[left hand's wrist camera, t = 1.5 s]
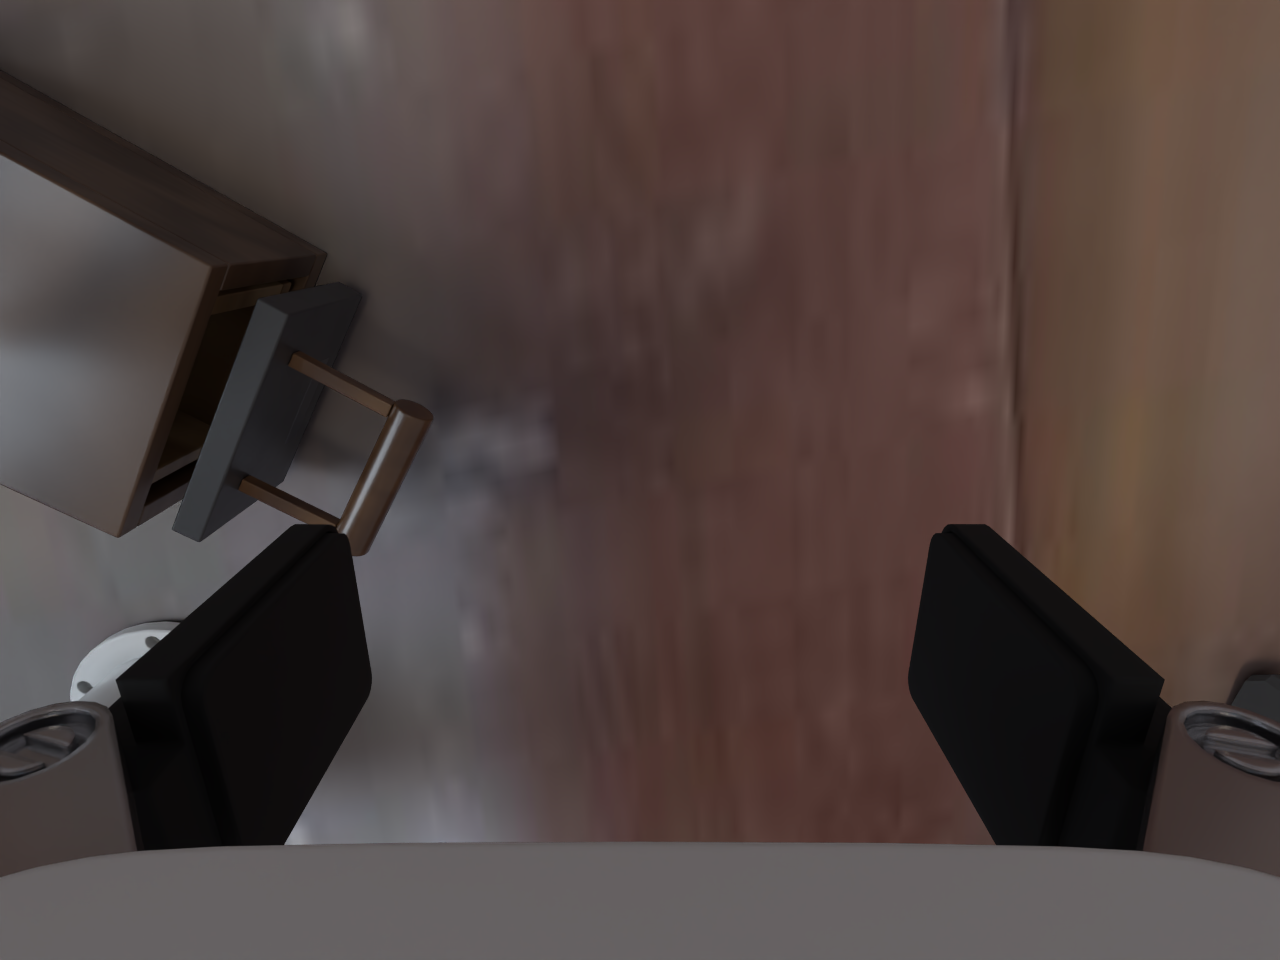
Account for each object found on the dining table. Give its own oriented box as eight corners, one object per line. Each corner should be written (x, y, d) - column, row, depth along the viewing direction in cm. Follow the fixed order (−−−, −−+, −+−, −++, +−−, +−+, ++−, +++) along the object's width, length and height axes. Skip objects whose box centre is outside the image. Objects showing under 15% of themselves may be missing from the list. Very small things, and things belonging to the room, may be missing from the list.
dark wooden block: (327, 253, 31) (212, 266, 23) (244, 462, 35) (118, 539, 27) (-63, 34, 28) (-363, -45, 20) (-110, 287, 32) (-380, 311, 24)
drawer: (479, 358, 32) (437, 394, 26) (391, 534, 35) (334, 606, 29) (5, 96, 28) (-185, 59, 22) (-44, 320, 31) (-224, 347, 25)
